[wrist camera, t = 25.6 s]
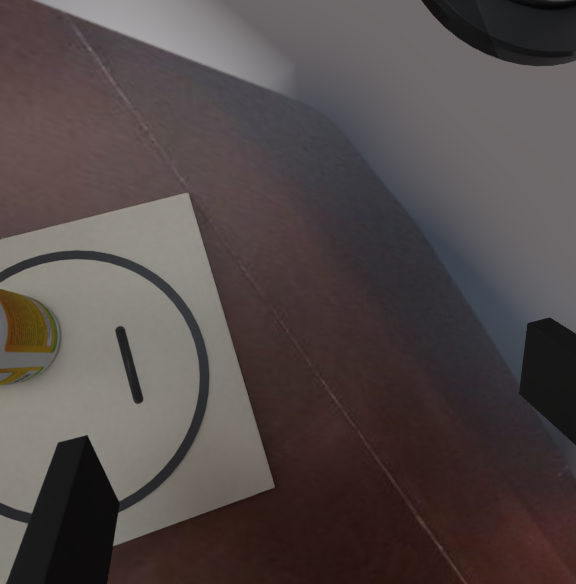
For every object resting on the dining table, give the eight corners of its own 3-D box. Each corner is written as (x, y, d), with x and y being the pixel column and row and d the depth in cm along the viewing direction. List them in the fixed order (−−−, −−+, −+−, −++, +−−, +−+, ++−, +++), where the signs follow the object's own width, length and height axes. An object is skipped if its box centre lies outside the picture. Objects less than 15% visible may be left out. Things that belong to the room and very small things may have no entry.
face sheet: (189, 194, 30) (187, 189, 29) (274, 485, 27) (275, 489, 27) (-130, 274, 27) (-142, 271, 26) (-63, 607, 25) (-74, 616, 24)
